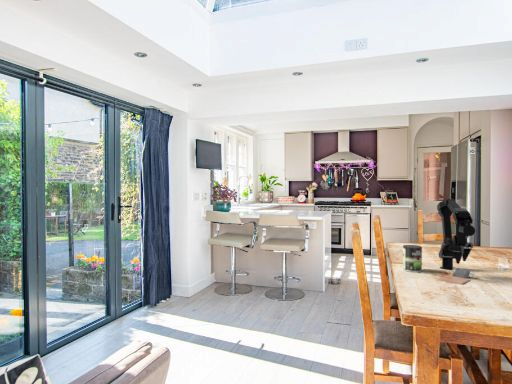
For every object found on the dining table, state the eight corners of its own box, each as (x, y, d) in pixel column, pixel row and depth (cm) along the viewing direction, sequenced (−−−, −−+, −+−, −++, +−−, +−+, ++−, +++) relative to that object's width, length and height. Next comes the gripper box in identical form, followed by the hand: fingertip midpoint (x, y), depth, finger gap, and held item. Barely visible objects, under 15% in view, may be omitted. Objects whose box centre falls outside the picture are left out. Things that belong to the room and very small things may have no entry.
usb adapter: (451, 276, 200) (451, 268, 200) (454, 274, 203) (454, 267, 203) (471, 279, 193) (471, 271, 193) (474, 278, 195) (474, 270, 195)
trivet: (445, 276, 199) (445, 275, 199) (470, 280, 190) (470, 279, 190) (436, 280, 191) (436, 278, 191) (461, 284, 182) (461, 283, 182)
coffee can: (425, 271, 211) (426, 247, 210) (410, 272, 208) (410, 248, 208) (413, 267, 221) (413, 244, 220) (399, 268, 218) (399, 245, 218)
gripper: (452, 230, 210) (451, 257, 210) (438, 233, 198) (438, 262, 198) (473, 232, 202) (473, 260, 202) (461, 235, 189) (460, 265, 190)
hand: (461, 262), depth 198 cm, fingers open, 9 cm apart
